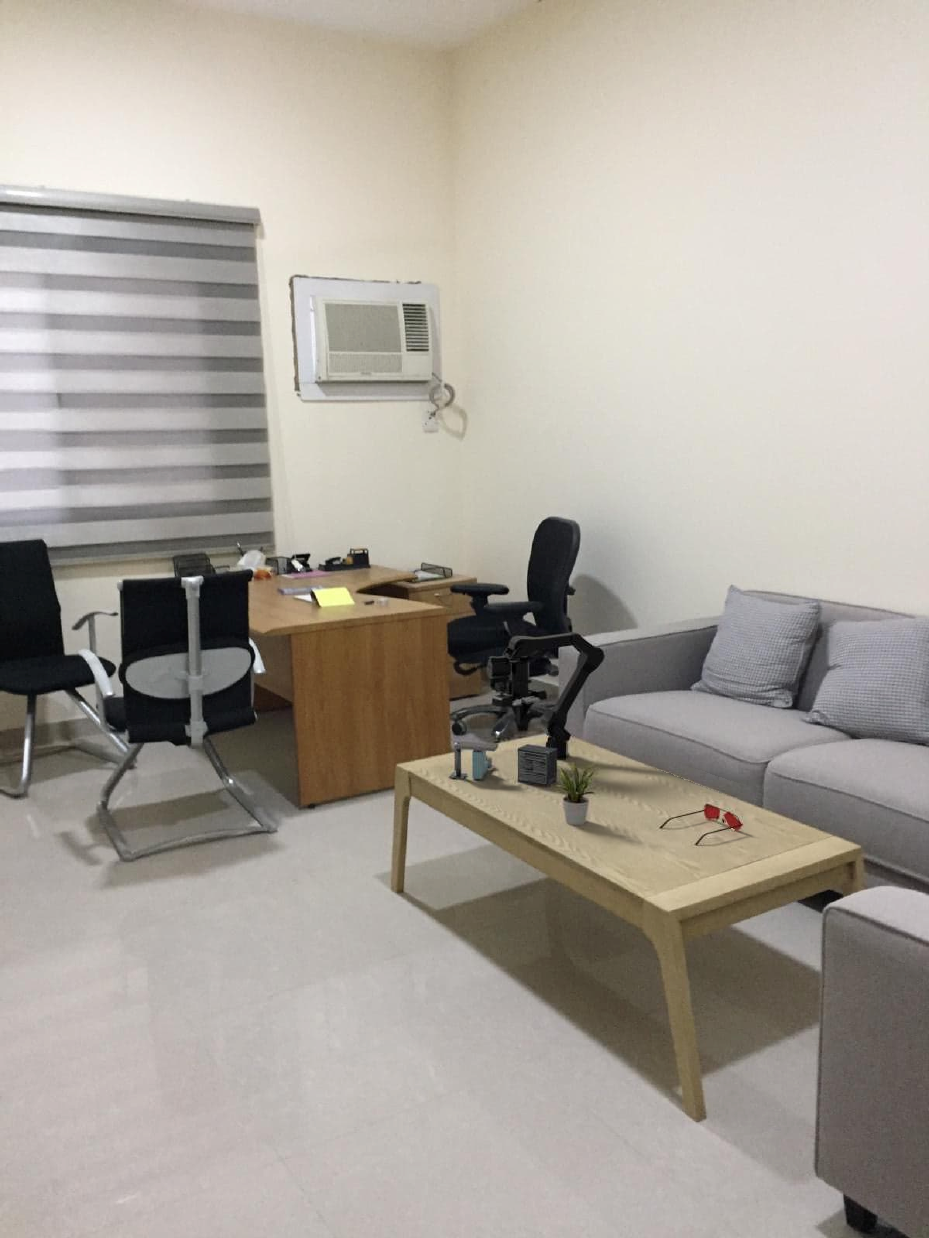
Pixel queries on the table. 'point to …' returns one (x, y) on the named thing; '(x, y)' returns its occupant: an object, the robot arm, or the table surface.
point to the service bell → (490, 767)
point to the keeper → (468, 746)
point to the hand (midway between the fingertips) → (519, 723)
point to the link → (480, 763)
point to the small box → (537, 765)
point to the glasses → (714, 813)
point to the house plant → (576, 795)
